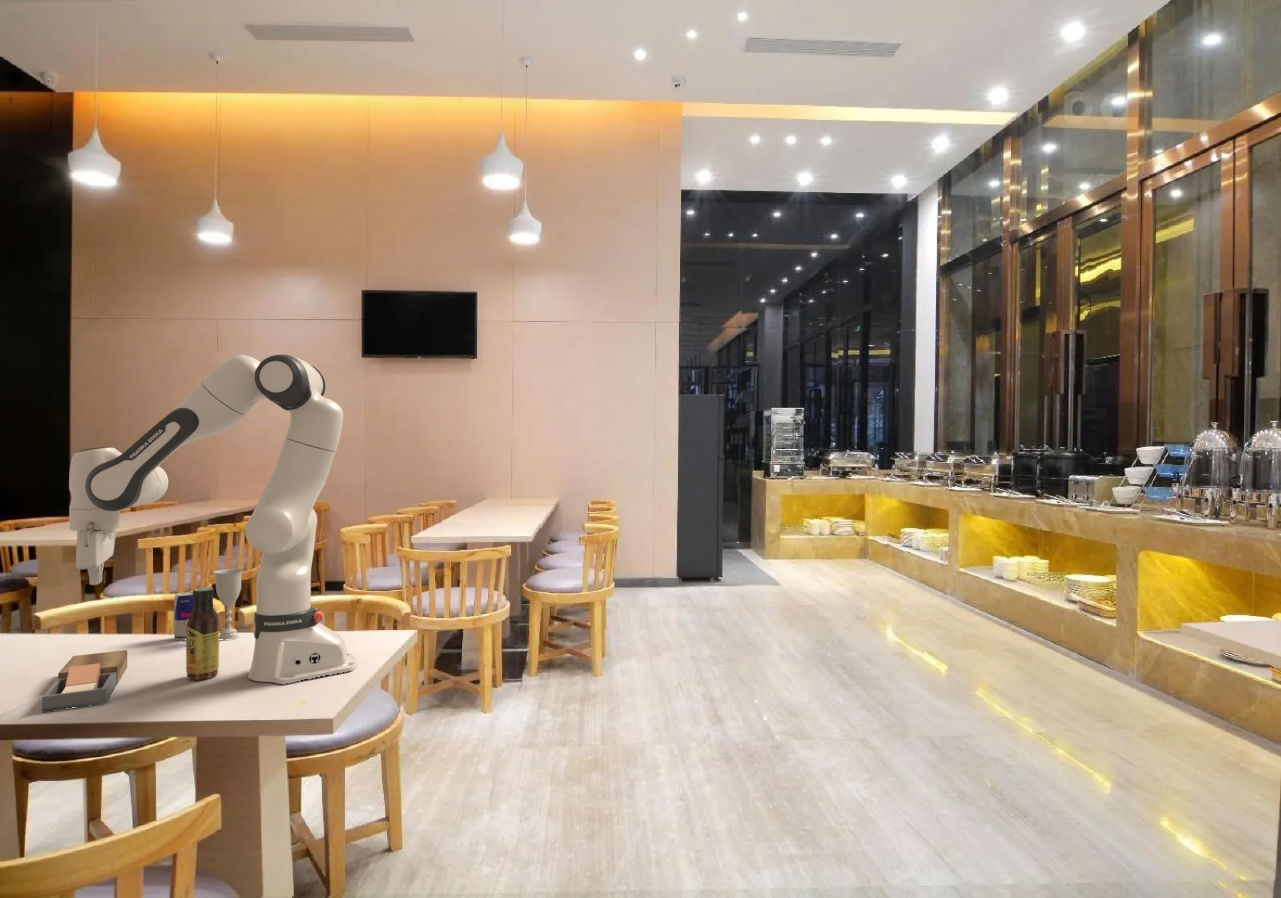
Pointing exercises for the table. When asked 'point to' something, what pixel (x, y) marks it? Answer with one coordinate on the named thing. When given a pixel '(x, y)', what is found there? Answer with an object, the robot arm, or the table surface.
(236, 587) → the chalice
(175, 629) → the energy drink
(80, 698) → the charcoal tray
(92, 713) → the table surface
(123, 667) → the walnut board
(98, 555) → the robot arm
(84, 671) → the peach rectangular prism
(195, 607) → the sauce bottle
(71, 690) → the cream block
